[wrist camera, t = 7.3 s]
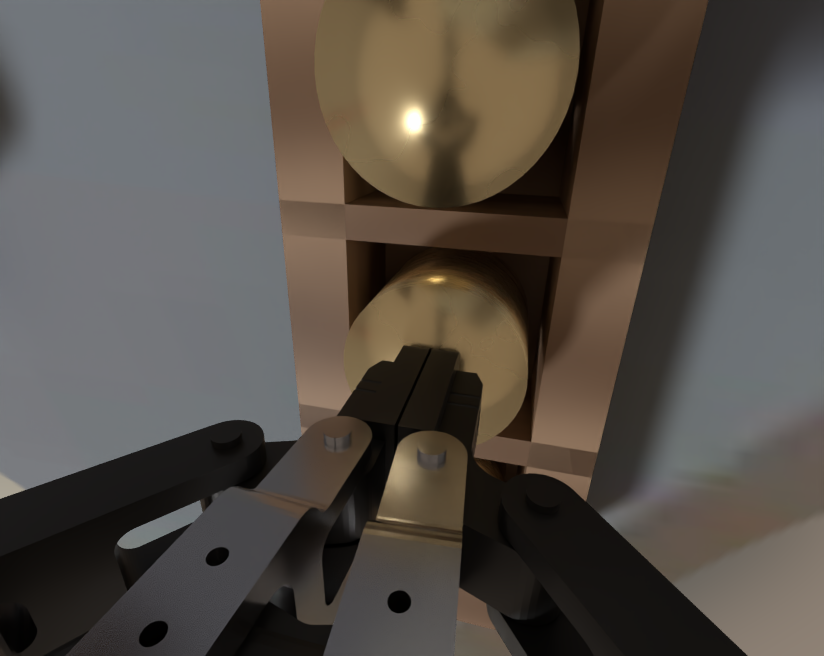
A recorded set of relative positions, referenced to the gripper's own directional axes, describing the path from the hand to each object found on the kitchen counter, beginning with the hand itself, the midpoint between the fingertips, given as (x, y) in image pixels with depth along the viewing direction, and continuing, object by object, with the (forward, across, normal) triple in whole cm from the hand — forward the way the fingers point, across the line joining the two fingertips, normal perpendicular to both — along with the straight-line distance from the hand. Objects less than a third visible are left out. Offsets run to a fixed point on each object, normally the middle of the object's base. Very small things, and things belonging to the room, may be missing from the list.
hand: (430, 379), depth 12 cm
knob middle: (+4, 0, 0) cm, 4 cm away
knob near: (+4, 0, -7) cm, 8 cm away
